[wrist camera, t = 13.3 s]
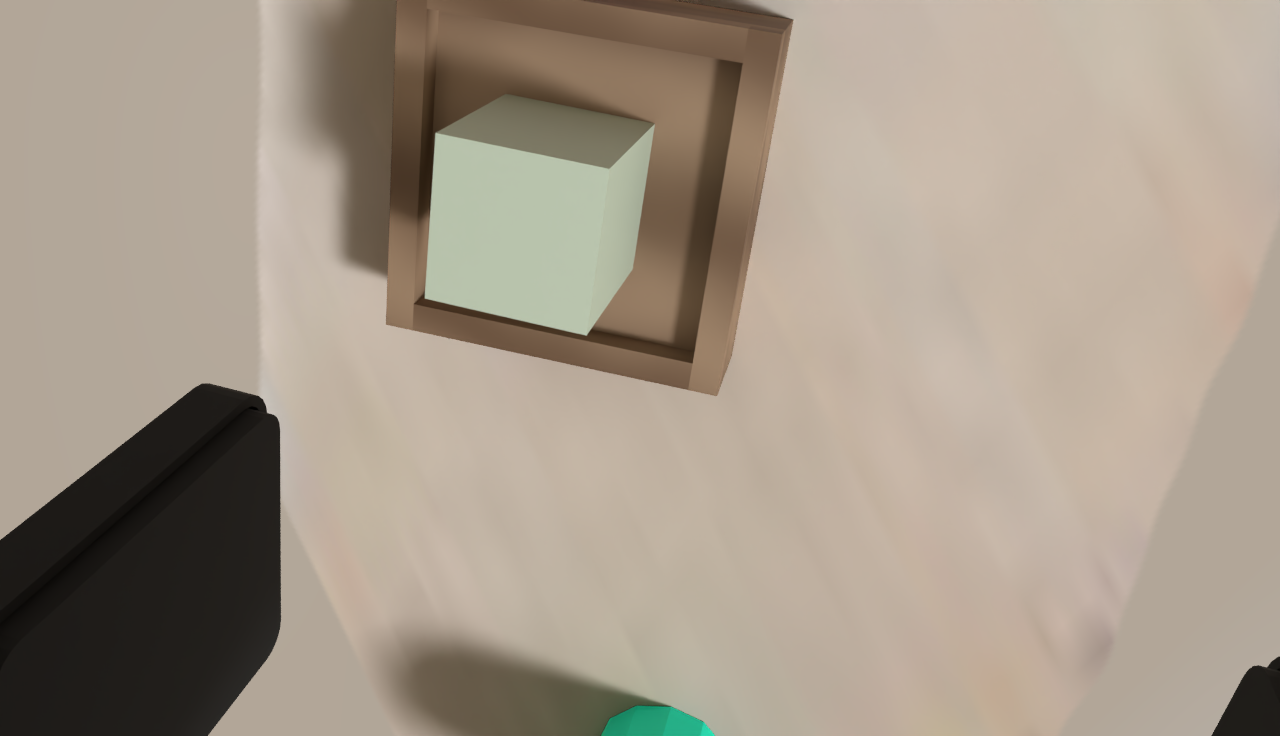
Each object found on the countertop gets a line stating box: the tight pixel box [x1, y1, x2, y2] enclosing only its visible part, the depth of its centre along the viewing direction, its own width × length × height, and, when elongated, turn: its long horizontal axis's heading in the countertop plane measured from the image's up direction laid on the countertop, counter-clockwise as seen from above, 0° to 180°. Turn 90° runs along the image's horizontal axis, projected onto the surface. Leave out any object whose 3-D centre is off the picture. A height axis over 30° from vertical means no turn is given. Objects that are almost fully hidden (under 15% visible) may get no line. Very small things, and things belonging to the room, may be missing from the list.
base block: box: [386, 0, 793, 396], centre depth 38 cm, size 12×12×4 cm
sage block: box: [425, 94, 655, 336], centre depth 34 cm, size 5×5×6 cm
